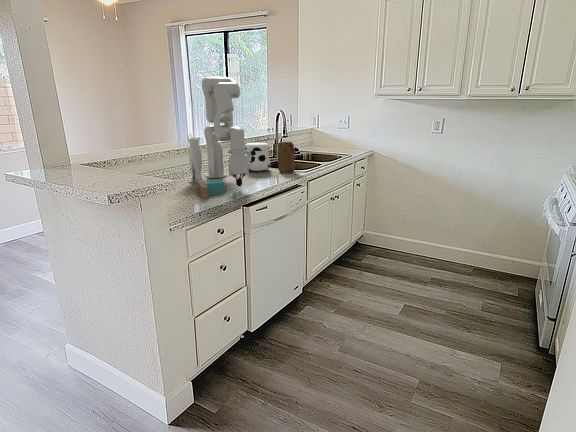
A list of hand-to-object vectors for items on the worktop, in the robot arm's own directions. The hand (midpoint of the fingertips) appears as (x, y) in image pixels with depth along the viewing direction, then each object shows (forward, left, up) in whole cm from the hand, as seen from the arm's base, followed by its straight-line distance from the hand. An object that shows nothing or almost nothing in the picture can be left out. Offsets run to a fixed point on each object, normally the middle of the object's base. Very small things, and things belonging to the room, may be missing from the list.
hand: (239, 185), depth 206 cm
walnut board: (0, -20, -2) cm, 20 cm away
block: (-36, +41, -3) cm, 55 cm away
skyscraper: (-28, -19, -3) cm, 34 cm away
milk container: (-47, +24, -3) cm, 53 cm away
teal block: (-1, -13, -3) cm, 14 cm away
